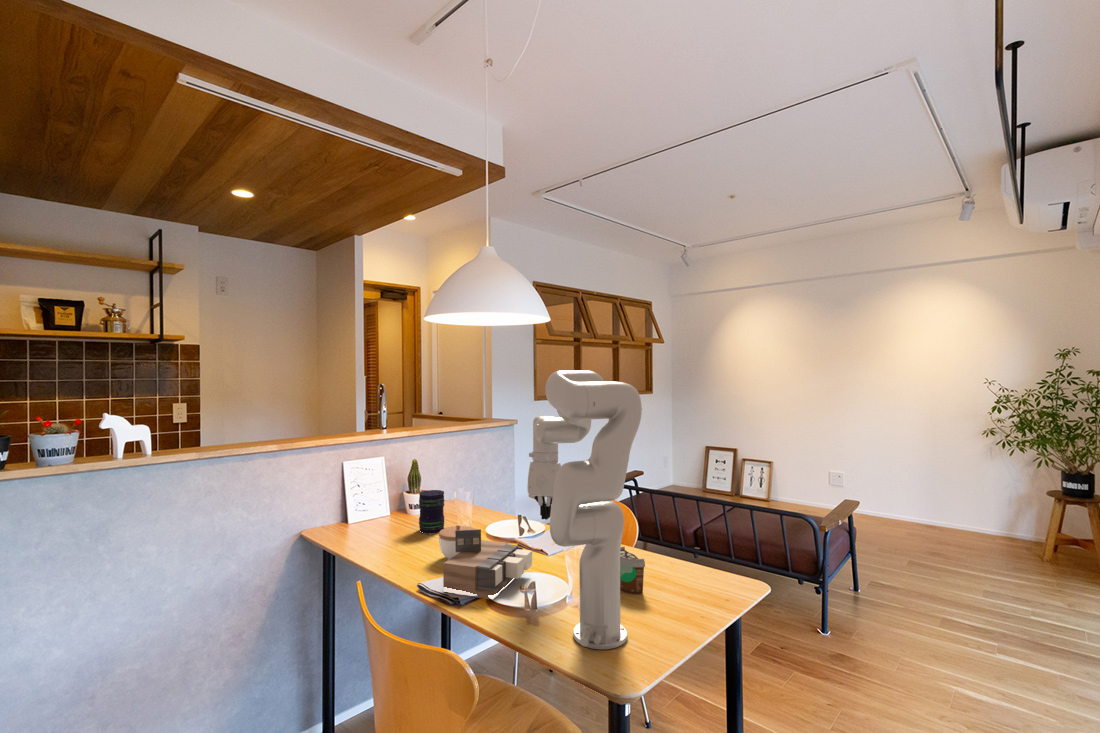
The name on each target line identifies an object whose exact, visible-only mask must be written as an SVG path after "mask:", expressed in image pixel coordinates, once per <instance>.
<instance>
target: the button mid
mask: <svg viewBox="0 0 1100 733" xmlns="http://www.w3.org/2000/svg"><path fill="white" fill-rule="evenodd" d="M503 561H506V577H508V578H515V580H517V579H519V578H520V577H522V575H523V574H524V572H523V558H517V557H506V558H505V559H504V560H503Z"/></svg>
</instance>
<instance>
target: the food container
mask: <svg viewBox="0 0 1100 733" xmlns="http://www.w3.org/2000/svg"><path fill="white" fill-rule="evenodd" d="M625 547H626V546H621V548H620V592H622V593H624V594H629V595H642V594H643V593H644V578H645V577H644V573H645V572H644V571H645V567H646V563H645V558H639V557H637V556H636V555H635V554H633V553H631V552H629V551H627V550H626V548H625Z"/></svg>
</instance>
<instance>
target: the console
mask: <svg viewBox="0 0 1100 733" xmlns="http://www.w3.org/2000/svg"><path fill="white" fill-rule="evenodd" d="M475 529H476V530H456V531H455V537H456V552H460V553H458V554H457V555H455V556H454V557H452V558H450V559H449V560H447V559H446V561H445V562H443V564H442V565H443V567H442V568H443V573H442V574H443V580H442V583H443V585H442V586H443V587H447V588H452V589H456V590H462V591H466V592H470V593H473V594H477V595H478V597H477V599H483V600H489V599H488V595H494V594H496V593H498V592H499V591H500V590H501V589H502V588H503V587H505V586H506V585H507V584H508V583H509V582H510V581H511V580H512V579H513V578H508V577H506V561H503V560H504V559H505V558H506V557H515V553H513V552H514V551H515V550H516V549H521V550H524V549H523V547H522V546H519V545H518V544H509V543H508V542H501V541H491V540H483V539H482V529H480V528H479V529H477V528H475ZM496 564H498V565H502V581H501V582H500V583H499V584H498V585H497V586H495V569H491V568H492V567H493V566H495V565H496ZM524 572H525V570H523V573H524Z"/></svg>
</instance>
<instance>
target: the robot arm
mask: <svg viewBox="0 0 1100 733" xmlns="http://www.w3.org/2000/svg"><path fill="white" fill-rule="evenodd" d="M544 391H545V396H546V399H547V401H548V403H549V404H550V406H552V407H553V408H554V409H555V410H556V413H557V414H558V417H556V416H553V415H540V416H539V415H538V416H535V417H534V418H533V421H532V423H533V424H532V446H533V447H532V452H528V456H529V458H532V460H531V461H530V463H529V467H528V468H529V469H528V475H527V493H528V497H529V498H531V499H533V500H535V501H536V502H537V503H538V506H539V508H540V509H539V513H540V516H541V520H545V521H547V520H548V519H549V533H550V537H551V539H552V541H553V542H554V543H555V545H557V546H559V547H567V548H568V547H576V546H577V547H578V546H583V545H585V546H584V547H583V549H582V551H581V554H580V558H579V565H578V567H579V570H578V571H579V623H578V624H576V625H575V626H574V627H573V630H572V635H573V639H574V640H575V641H576V642H577V643H578V645H581V646H582V647H586V648H589V649H592V650H594V649H595V650H603V651H604V650H610V649H611V650H612V649H616V648H619V647H621V646H622V645H624V644H625V643H626V642H627V641H628V630H627V629H626V628H625V627H624V625H622V624H621V622H622V621H621V591H620V548H621V547H622V539H623V534H624V532H623V531H624V526H625V516H624V512H623V509H622V508H621V506H620V505H619V504H618V503H616V502H615V500H618V499H619V498H620V497H621V495H622V494H623V491H624V487H625V482H626V477H627V472H628V466H629V462H630V454H631V449H632V445H633V443H634V440H635V438H636V436H637V432H638V430H639V428H640V424H641V420H642V411H643V408H642V406H643V405H642V400H641V396H640V393H639V391H638V389H637V388H636V387H635V386H634V385H632V384H630V383H626V382H623V381H613V380H612V381H606V380H605V381H604V379H603V377H602V376H601V375H600V374H599V373H597V372H595V371H593V370H581V369H580V370H556V371H554V372H552V373H551V374H550V375H549V376H548V379H546V383H545V390H544ZM606 419H608V421H607V423H606V424H604V426H603V427H601V429H600V430H599V431H598V432H597V433H596V435H595V437H594V439H593V442H592V445H591V446H592V447H591V453H590V457H589V458H588V459H586V460H574V461H567V462H566V463H563V464H561V461H559V444H576V443H578V442H581V441H582V440H583V439H584V438H585V437H586V436H587V435H588V434H589V432H590V431H591V427H592V420H606Z"/></svg>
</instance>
